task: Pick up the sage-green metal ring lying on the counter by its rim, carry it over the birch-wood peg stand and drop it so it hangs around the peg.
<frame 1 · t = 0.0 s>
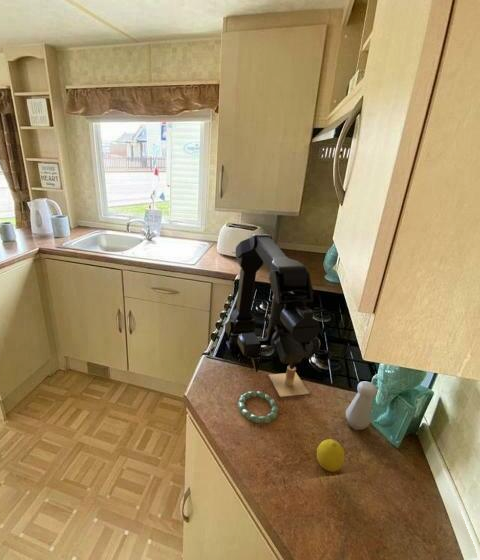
hand: (273, 369, 78), 15 cm above the worktop, tool pointing down, fingers open, 9 cm apart
stand: (287, 386, 93), on the worktop
lemon: (326, 467, 71), on the worktop
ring: (257, 406, 85), point 1 cm above the worktop
salt shaker: (355, 424, 82), on the worktop
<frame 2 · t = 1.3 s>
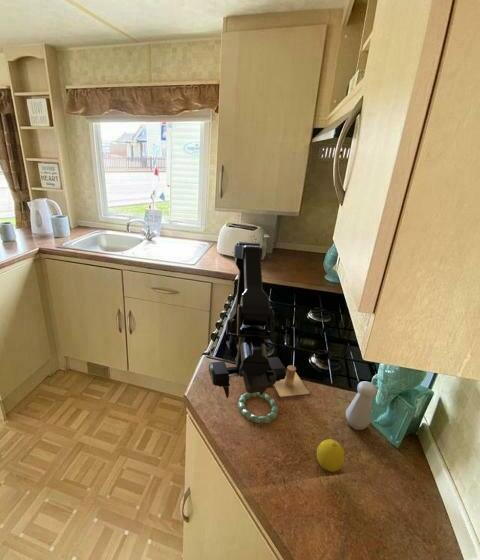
hand: (243, 395, 83), 5 cm above the worktop, tool pointing down, fingers open, 9 cm apart
nothing on the worktop moved.
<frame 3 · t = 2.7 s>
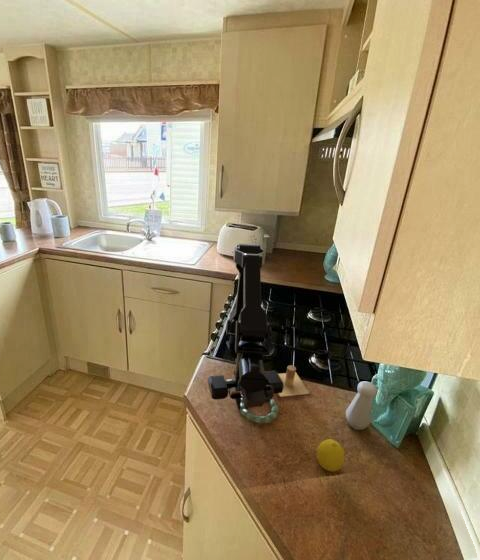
hand: (242, 407, 84), 1 cm above the worktop, tool pointing down, fingers closed on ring, 2 cm apart
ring: (257, 406, 85), point 1 cm above the worktop, touching gripper
everything else where it was.
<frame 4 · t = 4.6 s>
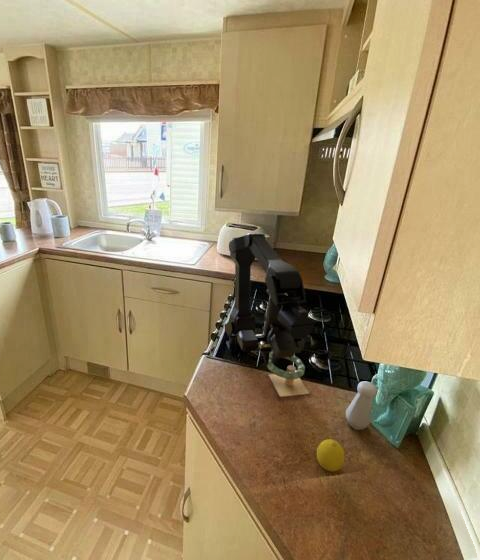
hand: (269, 364, 86), 11 cm above the worktop, tool pointing down, fingers closed on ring
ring: (284, 364, 87), point 10 cm above the worktop, tilted 5°, touching gripper
everything else where it was.
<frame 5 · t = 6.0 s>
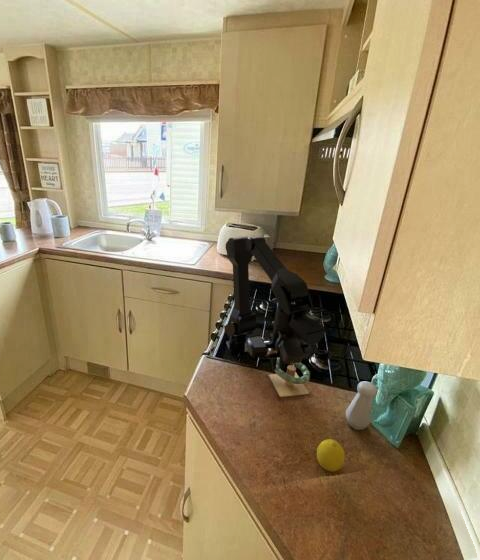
hand: (277, 369, 90), 7 cm above the worktop, tool pointing down, fingers closed on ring
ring: (291, 369, 91), point 6 cm above the worktop, tilted 9°, touching gripper
everything else where it was.
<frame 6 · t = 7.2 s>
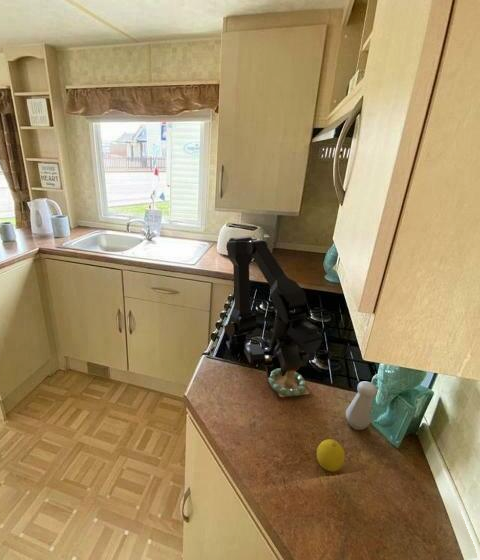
hand: (275, 375, 91), 5 cm above the worktop, tool pointing down, fingers open, 4 cm apart
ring: (286, 381, 93), point 2 cm above the worktop, touching stand
everything else where it was.
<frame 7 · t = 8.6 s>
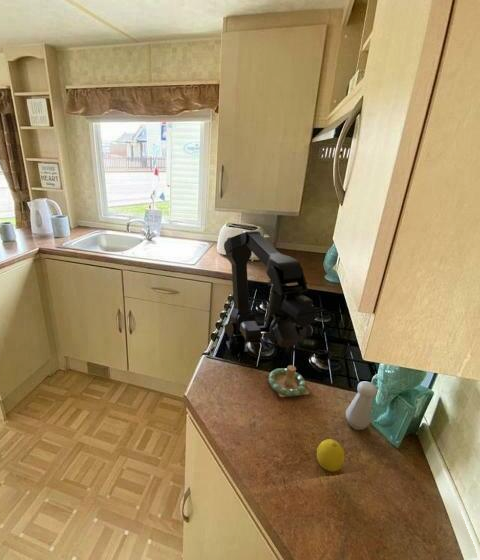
hand: (271, 353, 88), 12 cm above the worktop, tool pointing down, fingers open, 9 cm apart
nothing on the worktop moved.
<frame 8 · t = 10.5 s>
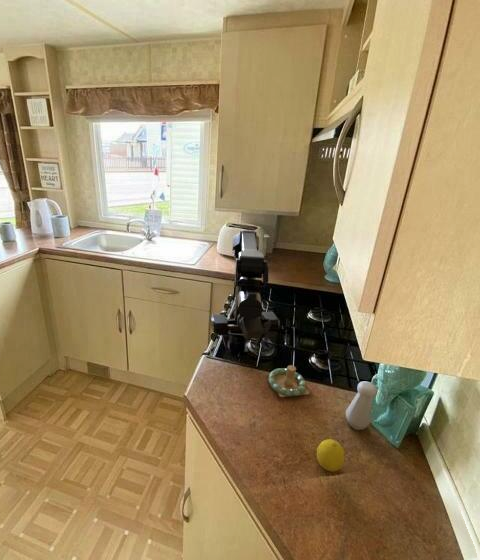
hand: (241, 346, 91), 12 cm above the worktop, tool pointing down, fingers open, 9 cm apart
nothing on the worktop moved.
at the end: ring 0.7 cm from the stand (horizontally); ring point 1.9 cm above the worktop; salt shaker moved 0.2 cm from its start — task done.
